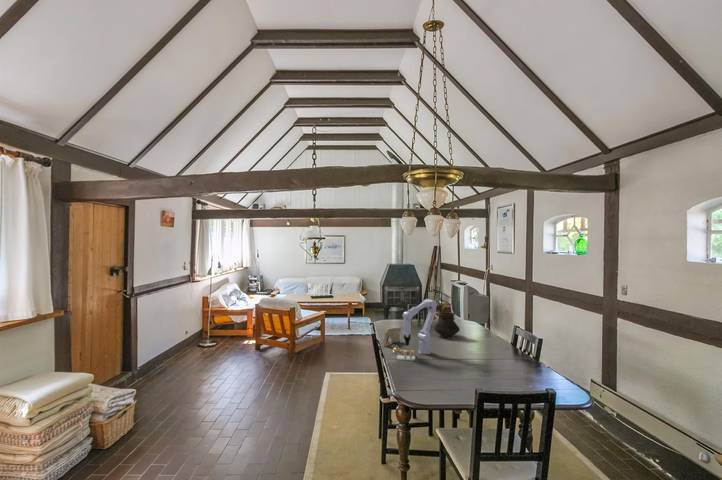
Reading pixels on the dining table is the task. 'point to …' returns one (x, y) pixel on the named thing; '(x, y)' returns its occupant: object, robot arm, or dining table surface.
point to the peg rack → (405, 357)
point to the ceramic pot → (446, 325)
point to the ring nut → (396, 349)
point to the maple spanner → (407, 352)
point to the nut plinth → (394, 352)
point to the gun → (391, 335)
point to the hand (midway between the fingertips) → (407, 343)
